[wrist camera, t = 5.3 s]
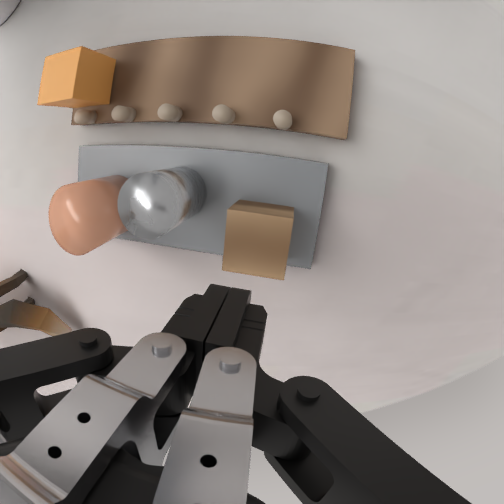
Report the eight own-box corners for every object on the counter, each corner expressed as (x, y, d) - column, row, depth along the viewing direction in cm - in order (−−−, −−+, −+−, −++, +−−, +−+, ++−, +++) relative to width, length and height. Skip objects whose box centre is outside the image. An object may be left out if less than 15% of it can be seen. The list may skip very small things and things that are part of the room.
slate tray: (87, 145, 23) (79, 145, 22) (326, 163, 21) (328, 163, 20) (86, 228, 26) (79, 231, 25) (309, 263, 24) (310, 269, 23)
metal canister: (159, 164, 22) (118, 170, 16) (208, 168, 21) (178, 174, 16) (157, 214, 23) (117, 234, 17) (204, 221, 23) (175, 244, 17)
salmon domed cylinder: (94, 173, 23) (47, 183, 17) (142, 176, 22) (98, 186, 16) (94, 229, 24) (51, 249, 19) (140, 236, 24) (100, 260, 18)
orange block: (74, 108, 20) (37, 105, 16) (81, 66, 19) (45, 57, 14) (109, 104, 20) (72, 98, 15) (116, 59, 19) (81, 46, 14)
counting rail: (81, 126, 23) (58, 125, 19) (91, 56, 20) (70, 49, 17) (343, 141, 20) (351, 139, 17) (351, 56, 18) (359, 41, 15)
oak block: (239, 199, 22) (227, 209, 18) (293, 207, 21) (293, 218, 18) (233, 250, 23) (221, 270, 19) (285, 259, 23) (283, 280, 19)
